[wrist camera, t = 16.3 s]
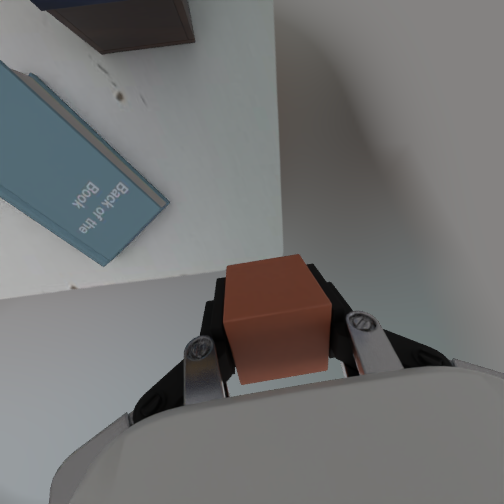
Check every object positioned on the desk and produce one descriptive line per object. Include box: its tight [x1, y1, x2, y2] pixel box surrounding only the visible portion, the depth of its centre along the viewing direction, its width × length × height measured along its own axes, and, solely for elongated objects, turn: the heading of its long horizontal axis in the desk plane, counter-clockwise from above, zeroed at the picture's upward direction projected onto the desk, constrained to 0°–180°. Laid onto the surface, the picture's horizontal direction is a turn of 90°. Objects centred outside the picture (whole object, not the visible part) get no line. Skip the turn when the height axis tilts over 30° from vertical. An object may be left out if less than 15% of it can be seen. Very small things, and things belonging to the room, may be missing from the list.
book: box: [0, 60, 170, 267], centre depth 30 cm, size 23×16×5 cm
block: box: [223, 254, 332, 385], centre depth 11 cm, size 4×4×4 cm
